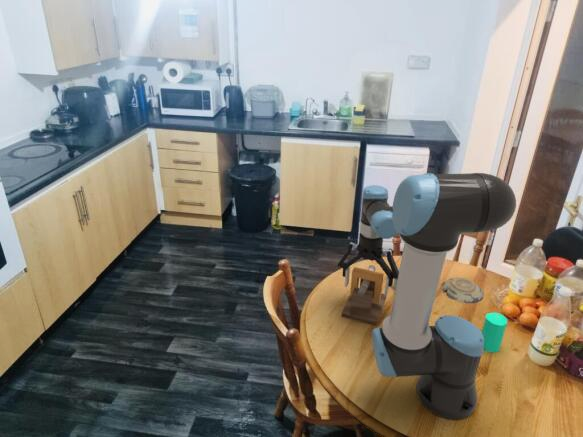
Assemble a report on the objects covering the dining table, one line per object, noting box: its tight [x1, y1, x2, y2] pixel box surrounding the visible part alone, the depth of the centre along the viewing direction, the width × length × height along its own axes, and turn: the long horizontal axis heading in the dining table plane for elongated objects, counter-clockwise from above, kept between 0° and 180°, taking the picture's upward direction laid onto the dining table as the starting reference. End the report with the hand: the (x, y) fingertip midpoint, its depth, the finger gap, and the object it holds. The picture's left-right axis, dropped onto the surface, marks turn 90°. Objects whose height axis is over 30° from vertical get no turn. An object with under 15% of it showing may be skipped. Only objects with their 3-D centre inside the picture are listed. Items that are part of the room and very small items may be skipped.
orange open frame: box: [349, 266, 385, 303], centre depth 144 cm, size 3×10×10 cm, turn 68°
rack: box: [340, 265, 387, 326], centre depth 145 cm, size 16×12×12 cm
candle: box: [481, 312, 509, 353], centre depth 128 cm, size 6×6×12 cm
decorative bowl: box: [440, 277, 485, 304], centre depth 156 cm, size 15×4×15 cm
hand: (366, 289), depth 144 cm, fingers open, 13 cm apart
